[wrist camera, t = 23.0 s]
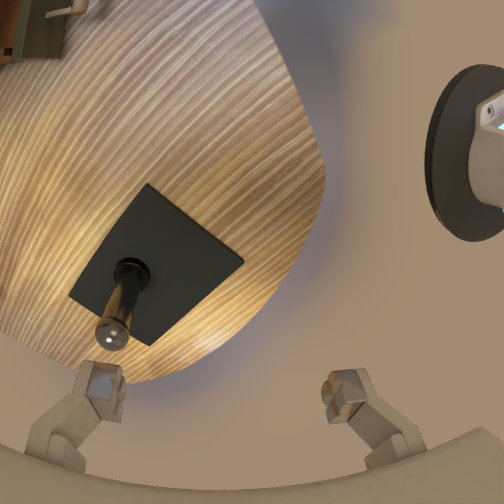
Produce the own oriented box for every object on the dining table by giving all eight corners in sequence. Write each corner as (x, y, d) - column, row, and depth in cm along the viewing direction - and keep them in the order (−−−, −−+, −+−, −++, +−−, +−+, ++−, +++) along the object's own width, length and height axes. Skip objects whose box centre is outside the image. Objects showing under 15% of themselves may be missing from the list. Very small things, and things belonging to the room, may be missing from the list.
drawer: (123, -59, 13) (101, -86, 7) (95, 54, 20) (62, 49, 14) (-7, -19, 10) (-41, -25, 4) (-26, 79, 17) (-64, 88, 11)
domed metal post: (149, 258, 33) (127, 333, 23) (151, 288, 35) (133, 364, 25) (114, 255, 32) (81, 327, 22) (117, 285, 34) (91, 357, 24)
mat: (146, 182, 28) (145, 184, 28) (244, 259, 35) (244, 262, 34) (69, 293, 35) (68, 296, 34) (150, 343, 41) (149, 346, 40)
